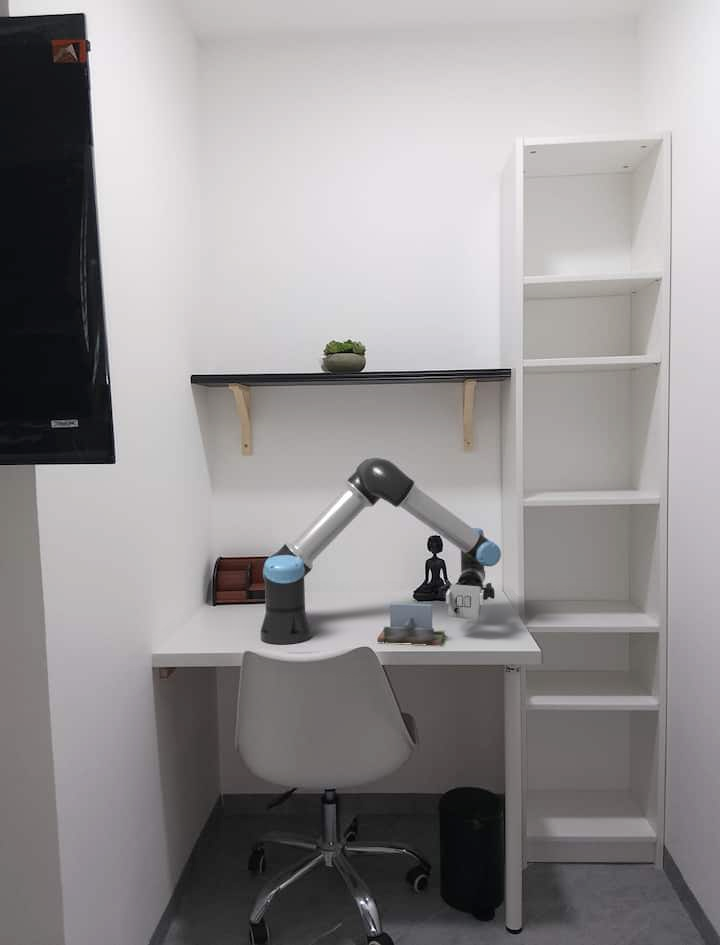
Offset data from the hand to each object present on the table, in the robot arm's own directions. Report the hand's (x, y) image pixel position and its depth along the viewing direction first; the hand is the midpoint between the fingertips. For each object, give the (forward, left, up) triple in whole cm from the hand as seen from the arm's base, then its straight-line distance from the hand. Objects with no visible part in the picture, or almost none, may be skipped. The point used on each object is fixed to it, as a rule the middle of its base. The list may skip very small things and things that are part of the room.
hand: (464, 599), depth 204 cm
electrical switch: (0, +5, -6) cm, 8 cm away
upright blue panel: (-14, -4, -10) cm, 18 cm away
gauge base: (-15, -1, -12) cm, 19 cm away
